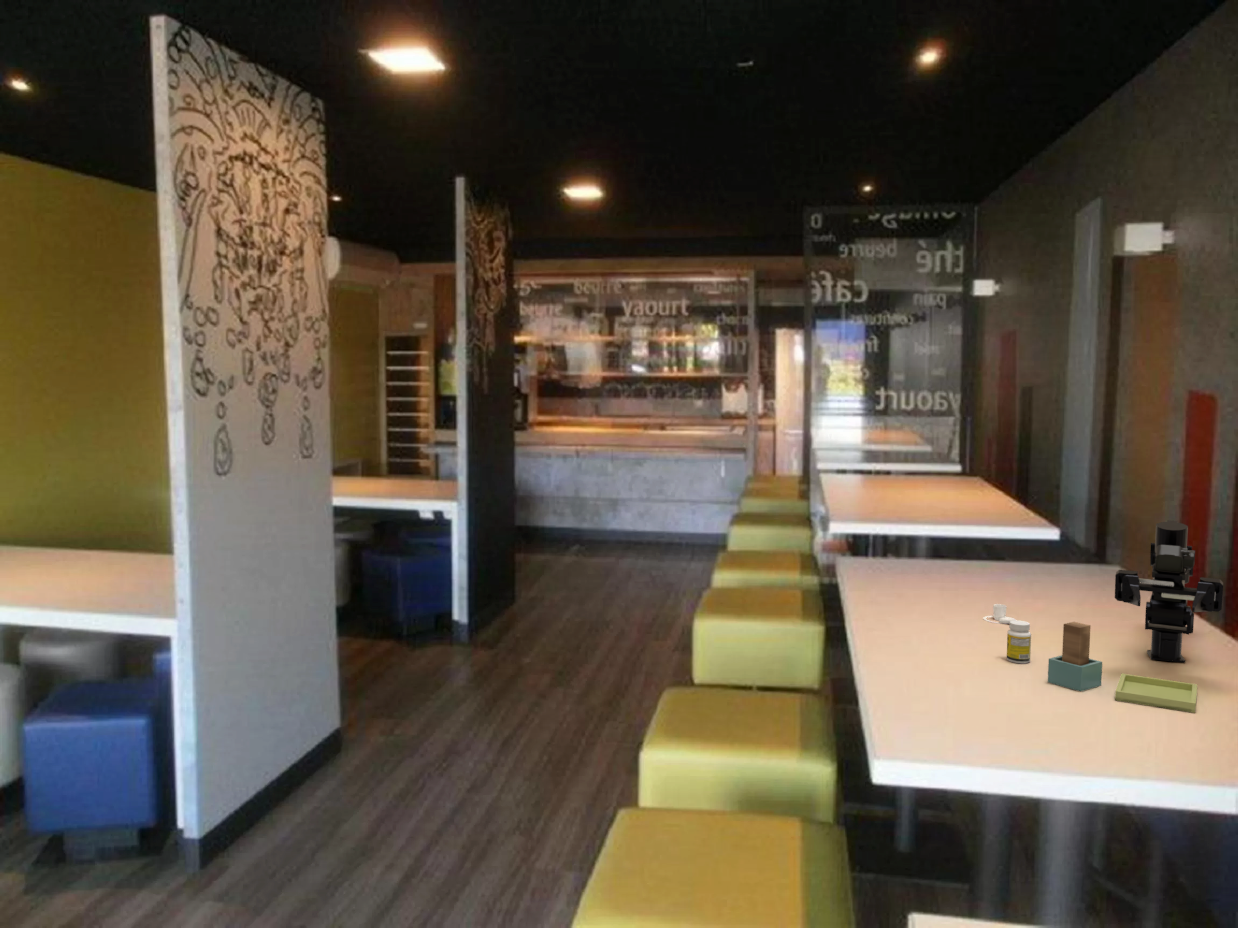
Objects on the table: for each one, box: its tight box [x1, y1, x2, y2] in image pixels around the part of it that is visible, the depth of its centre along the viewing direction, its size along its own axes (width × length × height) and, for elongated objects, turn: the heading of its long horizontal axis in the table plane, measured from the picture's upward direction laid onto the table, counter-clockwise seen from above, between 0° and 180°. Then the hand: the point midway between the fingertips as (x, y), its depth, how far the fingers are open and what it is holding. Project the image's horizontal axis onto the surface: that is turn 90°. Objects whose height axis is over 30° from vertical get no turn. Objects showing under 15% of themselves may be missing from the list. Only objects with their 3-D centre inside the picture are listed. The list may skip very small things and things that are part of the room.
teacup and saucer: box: [982, 603, 1017, 625], centre depth 243 cm, size 9×8×4 cm
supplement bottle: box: [1006, 619, 1032, 665], centre depth 208 cm, size 5×5×8 cm
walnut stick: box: [1061, 621, 1092, 666], centre depth 192 cm, size 4×4×12 cm
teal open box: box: [1047, 654, 1103, 692], centre depth 192 cm, size 7×7×5 cm
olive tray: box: [1114, 673, 1198, 714], centre depth 185 cm, size 13×13×2 cm
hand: (1165, 606), depth 188 cm, fingers open, 9 cm apart
